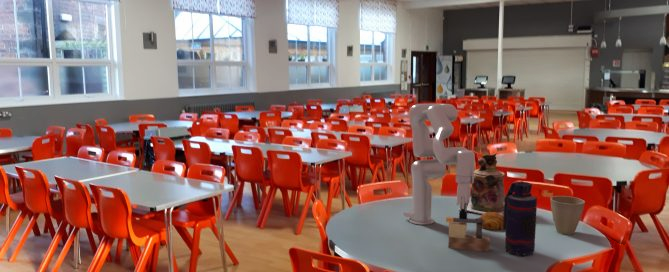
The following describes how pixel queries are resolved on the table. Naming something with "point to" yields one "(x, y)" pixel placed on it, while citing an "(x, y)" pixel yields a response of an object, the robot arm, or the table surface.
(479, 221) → the lever
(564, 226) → the plant pot
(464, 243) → the plane body
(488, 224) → the croissant
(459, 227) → the brushed brass block
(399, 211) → the table surface
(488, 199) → the cookie jar
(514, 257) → the table surface
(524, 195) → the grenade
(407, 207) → the table surface
